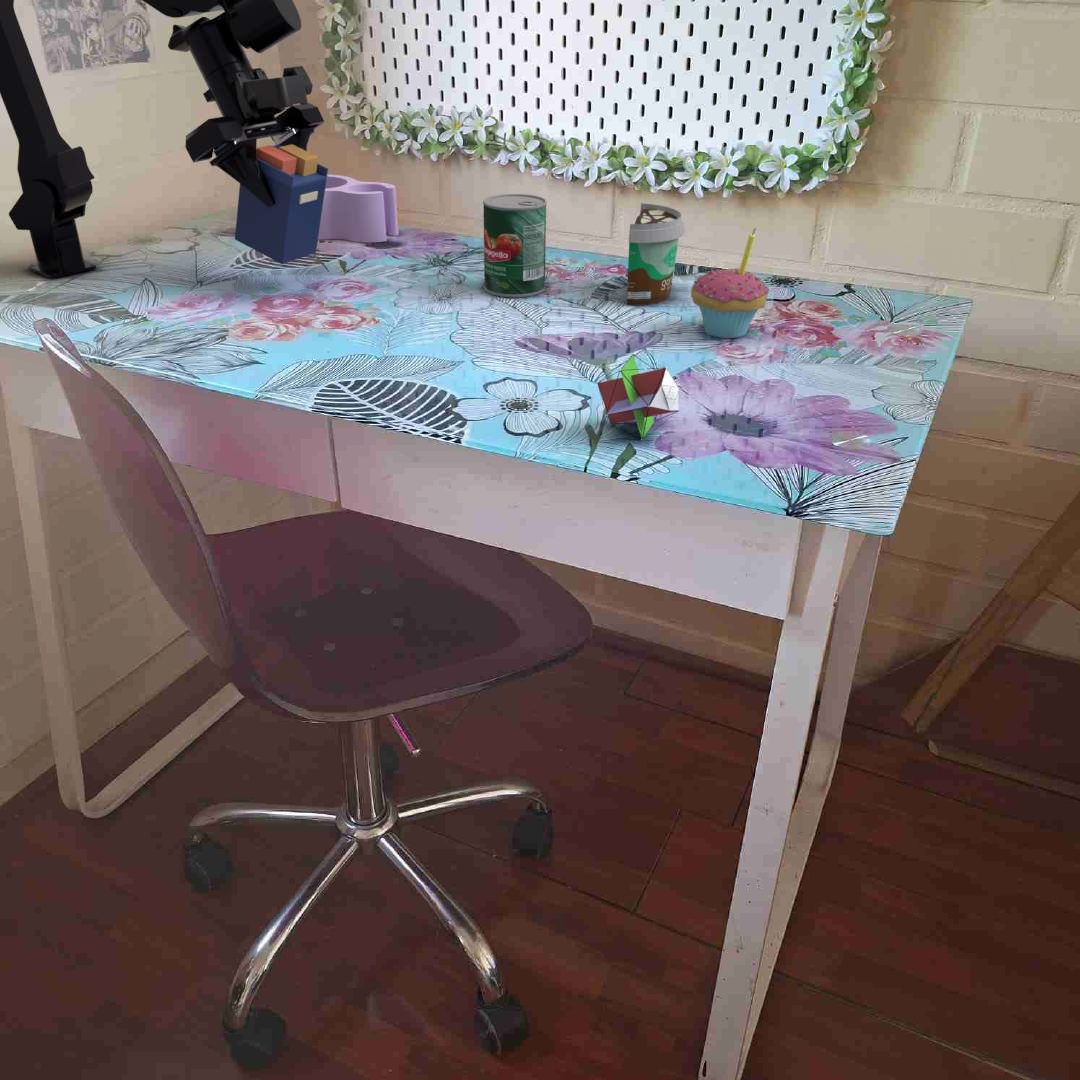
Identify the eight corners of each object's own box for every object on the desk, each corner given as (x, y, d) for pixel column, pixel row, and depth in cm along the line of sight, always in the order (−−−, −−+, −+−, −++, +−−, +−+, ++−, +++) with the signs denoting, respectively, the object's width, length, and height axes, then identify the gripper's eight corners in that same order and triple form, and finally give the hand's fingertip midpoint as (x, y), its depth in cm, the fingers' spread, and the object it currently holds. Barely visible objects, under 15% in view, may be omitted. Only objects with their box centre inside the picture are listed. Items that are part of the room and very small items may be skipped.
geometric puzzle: (569, 412, 88) (625, 352, 84) (593, 385, 94) (647, 327, 89) (628, 466, 89) (686, 409, 84) (648, 436, 95) (704, 381, 90)
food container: (675, 312, 120) (682, 228, 115) (624, 308, 121) (629, 224, 116) (683, 283, 130) (689, 204, 125) (636, 279, 131) (641, 202, 126)
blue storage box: (234, 239, 123) (242, 151, 116) (269, 228, 128) (279, 144, 121) (283, 265, 121) (294, 177, 114) (317, 253, 126) (329, 169, 119)
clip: (411, 228, 153) (408, 182, 150) (371, 247, 143) (367, 198, 140) (301, 216, 159) (296, 171, 156) (255, 233, 150) (248, 186, 146)
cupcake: (767, 324, 116) (781, 220, 110) (756, 348, 109) (770, 238, 103) (695, 316, 118) (704, 214, 112) (680, 339, 112) (689, 231, 105)
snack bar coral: (254, 164, 117) (256, 147, 116) (268, 161, 119) (270, 144, 118) (281, 177, 116) (283, 161, 115) (295, 174, 118) (297, 158, 117)
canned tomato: (474, 293, 125) (472, 204, 120) (498, 276, 132) (497, 191, 126) (533, 300, 123) (533, 210, 117) (554, 283, 129) (555, 196, 124)
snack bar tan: (276, 163, 119) (278, 146, 118) (290, 160, 121) (292, 144, 120) (303, 176, 118) (305, 160, 117) (316, 173, 120) (318, 156, 119)
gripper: (212, 43, 104) (282, 186, 108) (322, 35, 119) (381, 161, 123) (152, 91, 111) (221, 225, 115) (264, 78, 125) (321, 197, 129)
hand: (290, 200), depth 120 cm, fingers closed on blue storage box, 6 cm apart
